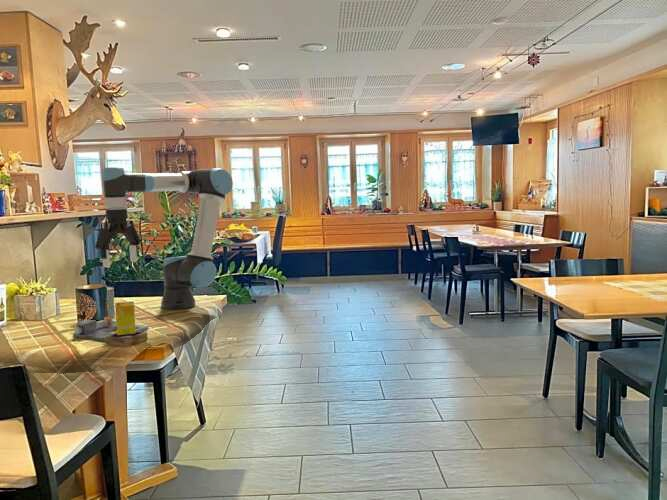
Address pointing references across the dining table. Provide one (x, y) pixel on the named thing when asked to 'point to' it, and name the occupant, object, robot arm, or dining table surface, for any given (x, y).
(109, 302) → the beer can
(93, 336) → the socket block
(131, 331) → the supplement box
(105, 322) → the drift key
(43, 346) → the dining table surface
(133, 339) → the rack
